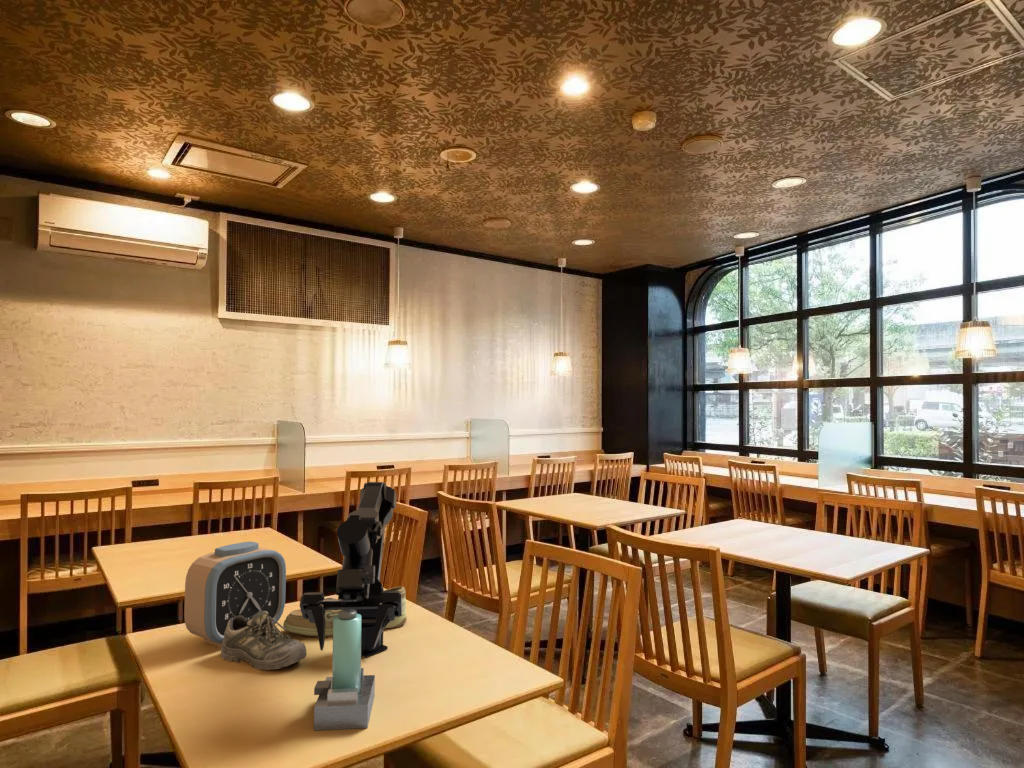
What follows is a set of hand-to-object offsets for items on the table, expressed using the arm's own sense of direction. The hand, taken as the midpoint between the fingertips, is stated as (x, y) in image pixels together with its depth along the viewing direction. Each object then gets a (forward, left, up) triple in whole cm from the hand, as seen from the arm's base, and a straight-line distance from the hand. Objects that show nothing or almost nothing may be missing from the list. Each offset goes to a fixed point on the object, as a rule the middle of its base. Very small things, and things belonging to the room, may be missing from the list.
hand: (347, 648), depth 116 cm
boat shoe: (-26, -35, -12) cm, 45 cm away
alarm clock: (-6, -50, -11) cm, 51 cm away
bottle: (0, 0, -7) cm, 7 cm away
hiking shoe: (-2, -33, -12) cm, 35 cm away
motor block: (0, 0, -11) cm, 11 cm away
